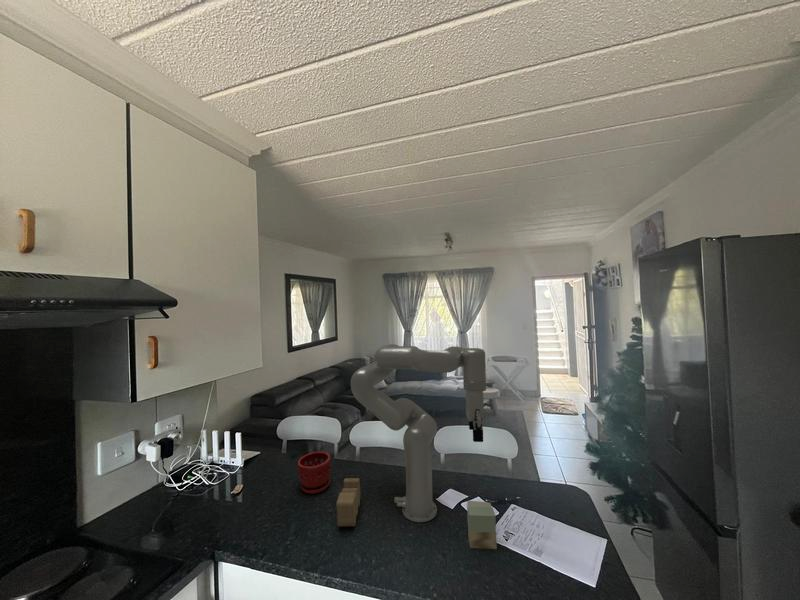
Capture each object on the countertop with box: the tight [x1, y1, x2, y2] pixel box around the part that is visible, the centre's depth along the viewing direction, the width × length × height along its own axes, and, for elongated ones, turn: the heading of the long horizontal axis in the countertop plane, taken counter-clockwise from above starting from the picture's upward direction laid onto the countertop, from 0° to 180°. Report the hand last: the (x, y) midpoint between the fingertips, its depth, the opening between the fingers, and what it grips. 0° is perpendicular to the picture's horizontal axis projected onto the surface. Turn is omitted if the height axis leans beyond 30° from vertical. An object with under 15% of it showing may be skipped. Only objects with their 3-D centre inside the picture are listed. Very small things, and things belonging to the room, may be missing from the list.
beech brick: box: [467, 527, 498, 550], centre depth 96 cm, size 8×4×5 cm, turn 85°
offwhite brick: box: [466, 500, 492, 507], centre depth 107 cm, size 8×4×5 cm, turn 80°
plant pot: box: [297, 451, 332, 494], centre depth 128 cm, size 13×13×12 cm
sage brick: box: [466, 506, 497, 533], centre depth 97 cm, size 8×4×5 cm, turn 86°
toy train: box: [335, 477, 362, 527], centre depth 111 cm, size 6×17×10 cm, turn 179°
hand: (475, 435), depth 105 cm, fingers open, 9 cm apart
